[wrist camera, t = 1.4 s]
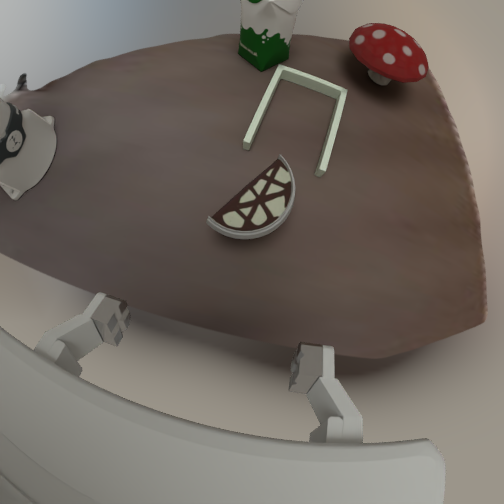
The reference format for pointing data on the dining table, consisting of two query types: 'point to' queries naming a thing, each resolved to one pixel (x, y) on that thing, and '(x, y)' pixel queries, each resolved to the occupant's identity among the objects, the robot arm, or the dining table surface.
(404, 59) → the decorative mushroom
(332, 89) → the pale green u-shaped frame
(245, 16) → the milk carton
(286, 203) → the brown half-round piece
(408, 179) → the dining table surface
